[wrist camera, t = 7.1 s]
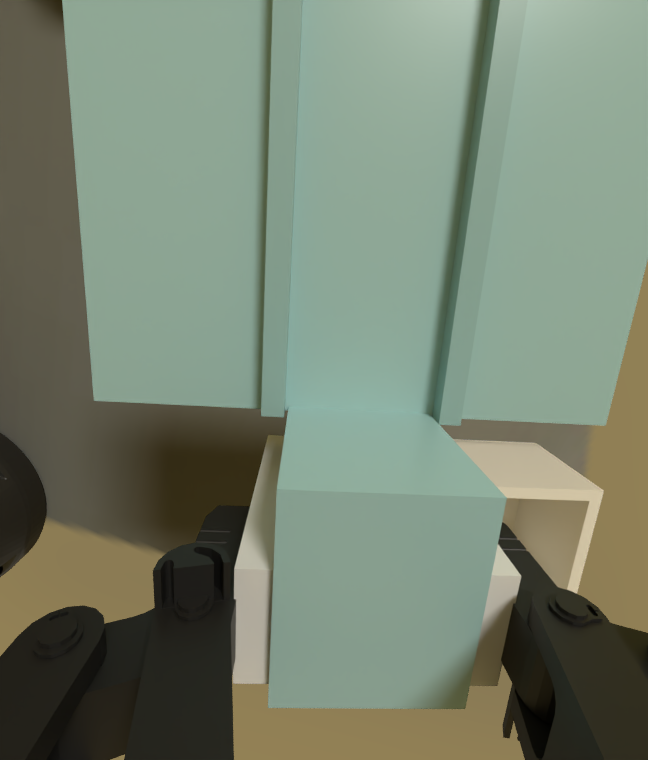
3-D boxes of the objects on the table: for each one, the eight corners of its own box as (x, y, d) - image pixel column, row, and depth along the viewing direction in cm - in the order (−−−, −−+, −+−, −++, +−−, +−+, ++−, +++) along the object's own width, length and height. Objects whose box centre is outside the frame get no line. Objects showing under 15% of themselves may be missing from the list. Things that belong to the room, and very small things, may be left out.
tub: (365, 538, 36) (381, 610, 28) (375, 435, 33) (397, 483, 25) (514, 543, 36) (571, 614, 29) (535, 442, 34) (603, 490, 26)
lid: (131, 515, 14) (-13, 706, 7) (99, -22, 10) (-236, -512, 4) (539, 528, 14) (709, 710, 8) (649, 37, 11) (1103, -287, 5)
